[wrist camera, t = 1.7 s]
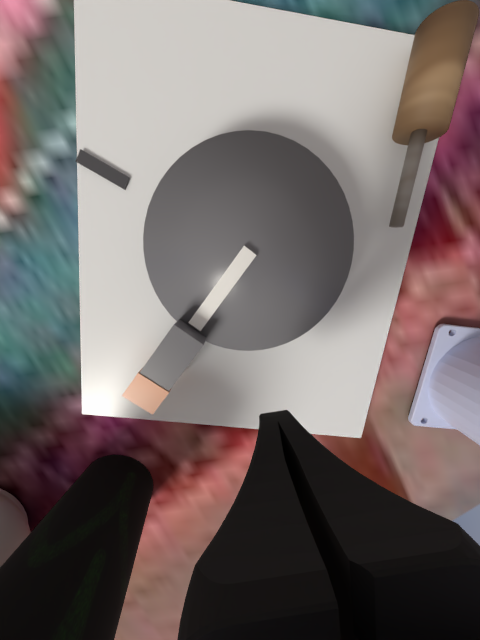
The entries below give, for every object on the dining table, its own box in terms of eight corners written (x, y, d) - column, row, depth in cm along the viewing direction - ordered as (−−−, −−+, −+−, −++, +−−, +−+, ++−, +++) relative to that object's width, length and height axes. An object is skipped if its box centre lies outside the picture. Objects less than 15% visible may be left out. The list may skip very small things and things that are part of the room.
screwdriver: (402, 47, 12) (443, -5, 10) (445, 55, 12) (494, 6, 10) (363, 227, 14) (390, 218, 12) (401, 232, 14) (434, 225, 12)
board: (443, 63, 14) (466, 40, 12) (352, 427, 18) (362, 439, 17) (88, -1, 12) (70, -35, 11) (92, 404, 17) (80, 415, 16)
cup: (62, 444, 18) (-257, 770, 6) (162, 441, 18) (36, 751, 6) (77, 523, 20) (-154, 902, 8) (169, 520, 20) (77, 883, 8)
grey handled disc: (228, 101, 12) (226, 46, 9) (376, 234, 14) (416, 224, 11) (81, 330, 15) (41, 346, 12) (223, 421, 16) (221, 456, 13)
